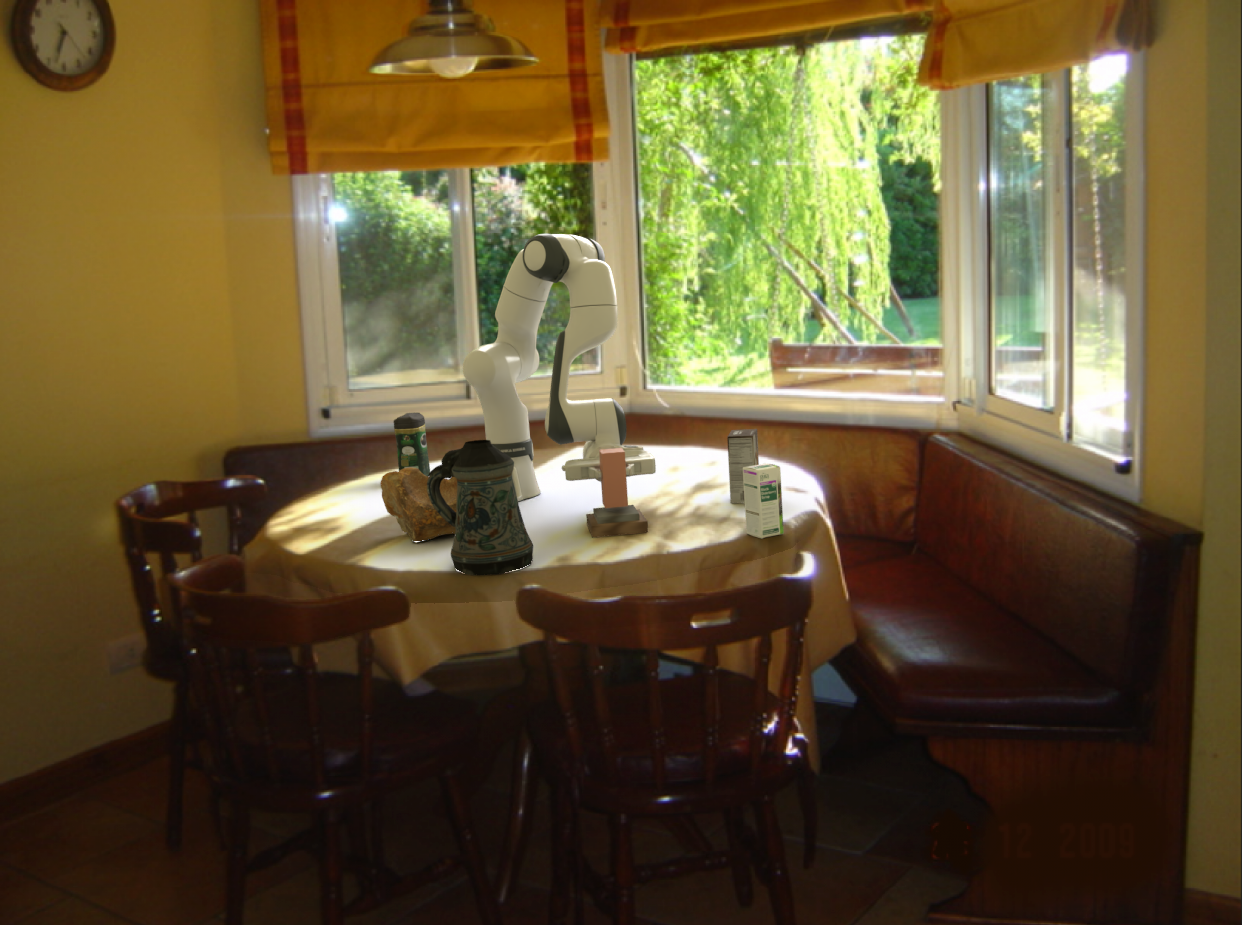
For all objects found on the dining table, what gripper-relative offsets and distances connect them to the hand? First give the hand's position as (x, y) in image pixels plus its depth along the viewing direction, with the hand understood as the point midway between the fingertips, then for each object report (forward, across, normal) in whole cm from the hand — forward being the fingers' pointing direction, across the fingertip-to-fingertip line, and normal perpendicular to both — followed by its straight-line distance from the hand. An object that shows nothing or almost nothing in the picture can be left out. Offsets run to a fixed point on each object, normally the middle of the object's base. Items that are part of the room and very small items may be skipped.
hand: (613, 473), depth 258 cm
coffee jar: (-80, -47, +13) cm, 94 cm away
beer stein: (+20, -29, +13) cm, 37 cm away
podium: (-1, 0, +12) cm, 12 cm away
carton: (-1, 0, +7) cm, 7 cm away
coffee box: (-18, +33, +13) cm, 40 cm away
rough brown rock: (-9, -40, +13) cm, 43 cm away
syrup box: (+16, +29, +12) cm, 35 cm away
